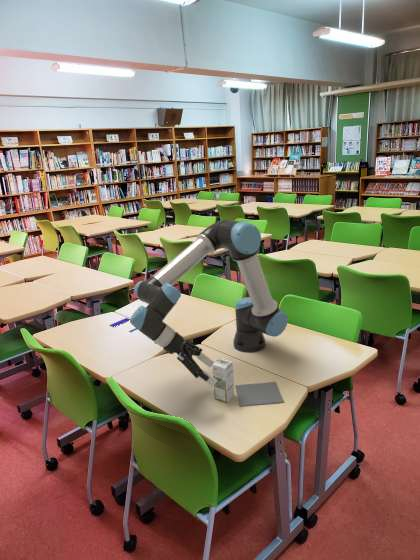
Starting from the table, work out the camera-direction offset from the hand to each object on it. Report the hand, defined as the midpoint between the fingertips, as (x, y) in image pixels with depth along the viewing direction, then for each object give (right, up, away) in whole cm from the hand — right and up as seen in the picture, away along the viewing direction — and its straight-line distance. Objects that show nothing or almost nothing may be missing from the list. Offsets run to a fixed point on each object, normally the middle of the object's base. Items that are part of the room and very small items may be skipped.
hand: (213, 373), depth 154 cm
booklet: (-43, +9, +76) cm, 88 cm away
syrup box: (+4, -10, +4) cm, 11 cm away
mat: (+17, -9, +4) cm, 20 cm away
